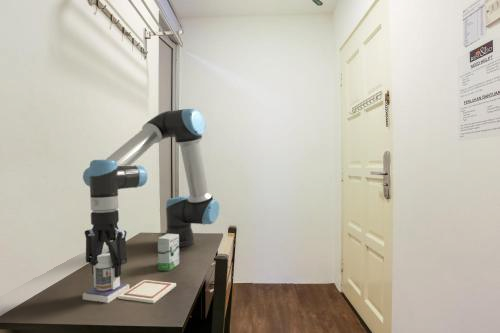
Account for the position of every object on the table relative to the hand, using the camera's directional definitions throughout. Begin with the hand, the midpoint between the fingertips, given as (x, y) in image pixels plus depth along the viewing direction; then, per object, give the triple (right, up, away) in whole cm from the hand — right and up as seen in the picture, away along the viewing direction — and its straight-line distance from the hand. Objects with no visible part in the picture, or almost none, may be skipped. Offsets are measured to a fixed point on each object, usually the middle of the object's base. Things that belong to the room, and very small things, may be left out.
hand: (106, 286), depth 88 cm
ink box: (+13, -2, +23) cm, 26 cm away
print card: (+12, -2, +1) cm, 13 cm away
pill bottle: (0, -1, 0) cm, 1 cm away
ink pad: (0, -2, 0) cm, 2 cm away
